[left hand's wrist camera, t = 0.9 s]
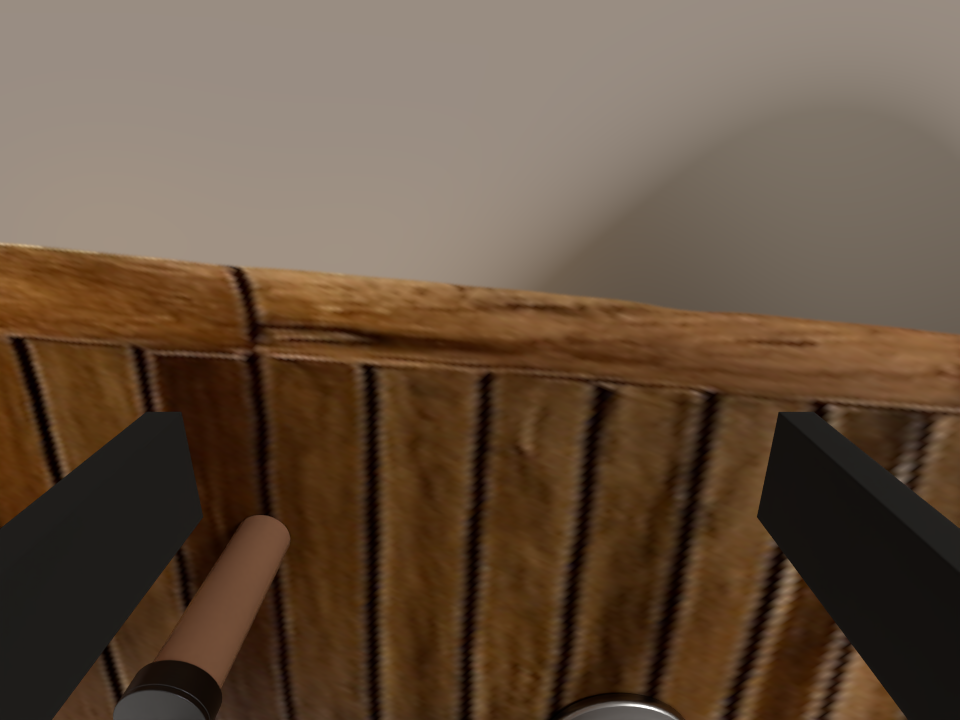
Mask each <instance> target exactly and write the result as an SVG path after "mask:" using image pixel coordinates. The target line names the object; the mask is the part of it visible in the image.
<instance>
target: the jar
mask: <svg viewBox="0 0 960 720" xmlns="http://www.w3.org/2000/svg"><path fill="white" fill-rule="evenodd" d="M289 545H290V535H289V532H288V530H287V528H286V527H285V526H284V525H283V524H282V523H281V522H280V521H278V520H277V519H275V518H273V517H270V516H265V515H255V516H251V517H249V518H247V519H245V520H244V521H242V522H241V524H240V525H239V527H238V528H237V530H236V531H235V533H234V535H233V536H232V538H231V539H230V541H229V542H228V544H227V546H226V547H225V549H224V550H223V552H222V553H221V555H220V557H219V558H218V560H217V561H216V563H215V565H214V566H213V568H212V569H211V571H210V572H209V574H208V576H207V577H206V579H205V580H204V582H203V583H202V585H201V587H200V588H199V590H198V591H197V593H196V595H195V596H194V598H193V599H192V601H191V602H190V604H189V606H188V607H187V609H186V610H185V612H184V613H183V615H182V617H181V618H180V620H179V621H178V623H177V624H176V626H175V628H174V629H173V631H172V632H171V634H170V636H169V637H168V639H167V640H166V642H165V643H164V645H163V647H162V648H161V650H160V651H159V653H158V654H157V656H156V658H155V659H154V661H153V662H157V661H162V660H177V661H183V662H187V663H190V664H193V665H195V666H198V667H200V668H201V669H203V670H205V671H206V672H207V673H209V674H210V675H211V676H212V677H213V678H214V679H215V680H216V682H217V683H218V685H219V687H220V689H221V688H222V686H223V684H224V682H225V680H226V677H227V675H228V673H229V671H230V669H231V667H232V665H233V663H234V661H235V659H236V656H237V654H238V652H239V650H240V648H241V646H242V644H243V642H244V640H245V638H246V635H247V633H248V631H249V629H250V627H251V625H252V623H253V621H254V619H255V617H256V614H257V612H258V610H259V608H260V606H261V604H262V602H263V600H264V598H265V596H266V594H267V591H268V589H269V587H270V585H271V583H272V581H273V579H274V577H275V575H276V573H277V570H278V568H279V566H280V564H281V562H282V560H283V558H284V556H285V554H286V552H287V549H288V547H289ZM153 662H152V663H153Z"/></svg>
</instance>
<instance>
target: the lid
mask: <svg viewBox="0 0 960 720" xmlns="http://www.w3.org/2000/svg"><path fill="white" fill-rule="evenodd" d="M221 703H222V692H221V689H220V687H219V685H218V683H217V682H216V680H215V679H214V678H213V677H212V676H211V675H210V674H209V673H207V672H206V671H205V670H203V669H201V668H200V667H198V666H195V665H193V664H190V663H187V662H183V661H177V660H162V661H157V662H153V663H150V664H148V665H146V666H145V667H143V668H142V669H141V670H140V671H139V672H138V673H137V674H136V676H135V677H134V679H133V680H132V682H131V683H130V685H129V686H128V688H127V689H126V691H125V693H124V694H123V696H122V697H121V699H120V700H119V702H118V703H117V705H116V707H115V709H114V713H113V720H214V719H215V717H216V715H217V713H218V711H219V708H220V706H221Z"/></svg>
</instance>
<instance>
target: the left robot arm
mask: <svg viewBox="0 0 960 720" xmlns="http://www.w3.org/2000/svg"><path fill="white" fill-rule="evenodd" d="M202 518H203V515H202V510H201V505H200V500H199V495H198V491H197V486H196V481H195V476H194V471H193V466H192V462H191V457H190V452H189V447H188V442H187V437H186V433H185V428H184V423H183V418H182V413H181V412H146V413H144V414H143V415H142V416H141V417H139V418H138V419H137V420H136V421H134V422H133V423H132V424H131V425H129V426H128V427H127V428H126V429H124V430H123V431H122V432H121V433H119V434H118V435H117V436H116V437H114V438H113V439H112V440H111V441H109V442H108V443H107V444H106V445H104V446H103V447H102V448H101V449H99V450H98V451H97V452H96V453H94V454H93V455H92V456H91V457H89V458H88V459H87V460H86V461H84V462H83V463H82V464H81V465H79V466H78V467H77V468H76V469H74V470H73V471H72V472H71V473H69V474H68V475H67V476H66V477H64V478H63V479H62V480H61V481H59V482H58V483H57V484H56V485H54V486H53V487H52V488H51V489H49V490H48V491H47V492H46V493H44V494H43V495H42V496H41V497H39V498H38V499H37V500H36V501H34V502H33V503H32V504H31V505H29V506H28V507H27V508H26V509H24V510H23V511H22V512H21V513H19V514H18V515H17V516H16V517H14V518H13V519H12V520H11V521H9V522H8V523H7V524H6V525H4V526H3V527H2V528H0V720H52V719H53V718H54V716H55V715H56V713H57V712H58V711H59V709H60V708H61V707H62V705H63V704H64V703H65V701H66V700H67V699H68V697H69V696H70V695H71V693H72V692H73V691H74V689H75V688H76V687H77V685H78V684H79V683H80V681H81V680H82V679H83V677H84V676H85V675H86V673H87V672H88V671H89V669H90V668H91V667H92V665H93V664H94V663H95V661H96V660H97V659H98V657H99V656H100V654H101V653H102V652H103V650H104V649H105V648H106V646H107V645H108V644H109V642H110V641H111V640H112V638H113V637H114V636H115V634H116V633H117V632H118V630H119V629H120V628H121V626H122V625H123V624H124V622H125V621H126V620H127V618H128V617H129V616H130V614H131V613H132V612H133V610H134V609H135V608H136V606H137V605H138V604H139V602H140V601H141V600H142V598H143V597H144V595H145V594H146V593H147V591H148V590H149V589H150V587H151V586H152V585H153V583H154V582H155V581H156V579H157V578H158V577H159V575H160V574H161V573H162V571H163V570H164V569H165V567H166V566H167V565H168V563H169V562H170V561H171V559H172V558H173V557H174V555H175V554H176V553H177V551H178V550H179V549H180V547H181V546H182V545H183V543H184V542H185V540H186V539H187V538H188V536H189V535H190V534H191V532H192V531H193V530H194V528H195V527H196V526H197V524H198V523H199V522H200V520H201V519H202ZM757 518H758V519H759V520H760V522H761V523H762V524H763V526H764V527H765V528H766V530H767V531H768V532H769V534H770V535H771V536H772V538H773V539H774V540H775V542H776V543H777V545H778V546H779V547H780V549H781V550H782V551H783V553H784V554H785V555H786V557H787V558H788V559H789V561H790V562H791V563H792V565H793V566H794V567H795V569H796V570H797V571H798V573H799V574H800V575H801V577H802V578H803V579H804V581H805V582H806V583H807V585H808V586H809V587H810V589H811V590H812V591H813V593H814V594H815V595H816V597H817V598H818V600H819V601H820V602H821V604H822V605H823V606H824V608H825V609H826V610H827V612H828V613H829V614H830V616H831V617H832V618H833V620H834V621H835V622H836V624H837V625H838V626H839V628H840V629H841V630H842V632H843V633H844V634H845V636H846V637H847V638H848V640H849V641H850V642H851V644H852V645H853V646H854V648H855V649H856V650H857V652H858V653H859V654H860V656H861V657H862V659H863V660H864V661H865V663H866V664H867V665H868V667H869V668H870V669H871V671H872V672H873V673H874V675H875V676H876V677H877V679H878V680H879V681H880V683H881V684H882V685H883V687H884V688H885V689H886V691H887V692H888V693H889V695H890V696H891V697H892V699H893V700H894V701H895V703H896V704H897V705H898V707H899V708H900V709H901V711H902V712H903V713H904V715H905V716H906V718H907V719H908V720H960V528H958V527H957V526H956V525H954V524H953V523H952V522H951V521H949V520H948V519H947V518H946V517H944V516H943V515H942V514H941V513H939V512H938V511H937V510H936V509H934V508H933V507H932V506H931V505H929V504H928V503H927V502H926V501H924V500H923V499H922V498H921V497H919V496H918V495H917V494H916V493H914V492H913V491H912V490H911V489H909V488H908V487H907V486H906V485H904V484H903V483H902V482H901V481H899V480H898V479H897V478H896V477H894V476H893V475H892V474H891V473H889V472H888V471H887V470H886V469H884V468H883V467H882V466H881V465H879V464H878V463H877V462H876V461H874V460H873V459H872V458H871V457H869V456H868V455H867V454H866V453H864V452H863V451H862V450H861V449H859V448H858V447H857V446H856V445H854V444H853V443H852V442H851V441H849V440H848V439H847V438H846V437H844V436H843V435H842V434H841V433H839V432H838V431H837V430H836V429H834V428H833V427H832V426H831V425H829V424H828V423H827V422H826V421H824V420H823V419H822V418H821V417H819V416H818V415H817V414H816V413H814V412H779V413H778V418H777V423H776V428H775V433H774V437H773V442H772V447H771V452H770V457H769V462H768V466H767V471H766V476H765V481H764V486H763V491H762V495H761V500H760V505H759V510H758V515H757ZM552 720H685V719H684V718H683V717H682V716H681V715H680V714H679V713H678V712H677V711H676V710H675V709H673V708H672V707H671V706H669V705H667V704H665V703H663V702H661V701H659V700H657V699H654V698H651V697H647V696H643V695H637V694H627V693H616V694H605V695H600V696H595V697H591V698H588V699H585V700H582V701H580V702H577V703H575V704H573V705H571V706H569V707H567V708H566V709H564V710H563V711H561V712H560V713H559V714H557V715H556V716H555V717H554V718H553V719H552Z"/></svg>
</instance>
